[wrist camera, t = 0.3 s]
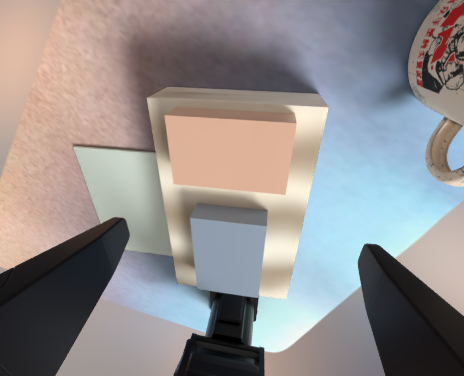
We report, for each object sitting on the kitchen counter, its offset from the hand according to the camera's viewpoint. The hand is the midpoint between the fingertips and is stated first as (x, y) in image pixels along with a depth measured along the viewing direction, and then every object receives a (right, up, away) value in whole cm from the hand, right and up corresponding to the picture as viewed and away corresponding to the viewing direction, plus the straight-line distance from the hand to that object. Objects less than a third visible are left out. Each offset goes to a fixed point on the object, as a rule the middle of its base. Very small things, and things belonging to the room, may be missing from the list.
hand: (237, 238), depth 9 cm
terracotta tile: (0, +5, +8) cm, 10 cm away
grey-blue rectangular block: (0, -3, +14) cm, 14 cm away
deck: (0, +1, +16) cm, 16 cm away
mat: (-11, 0, +19) cm, 22 cm away
